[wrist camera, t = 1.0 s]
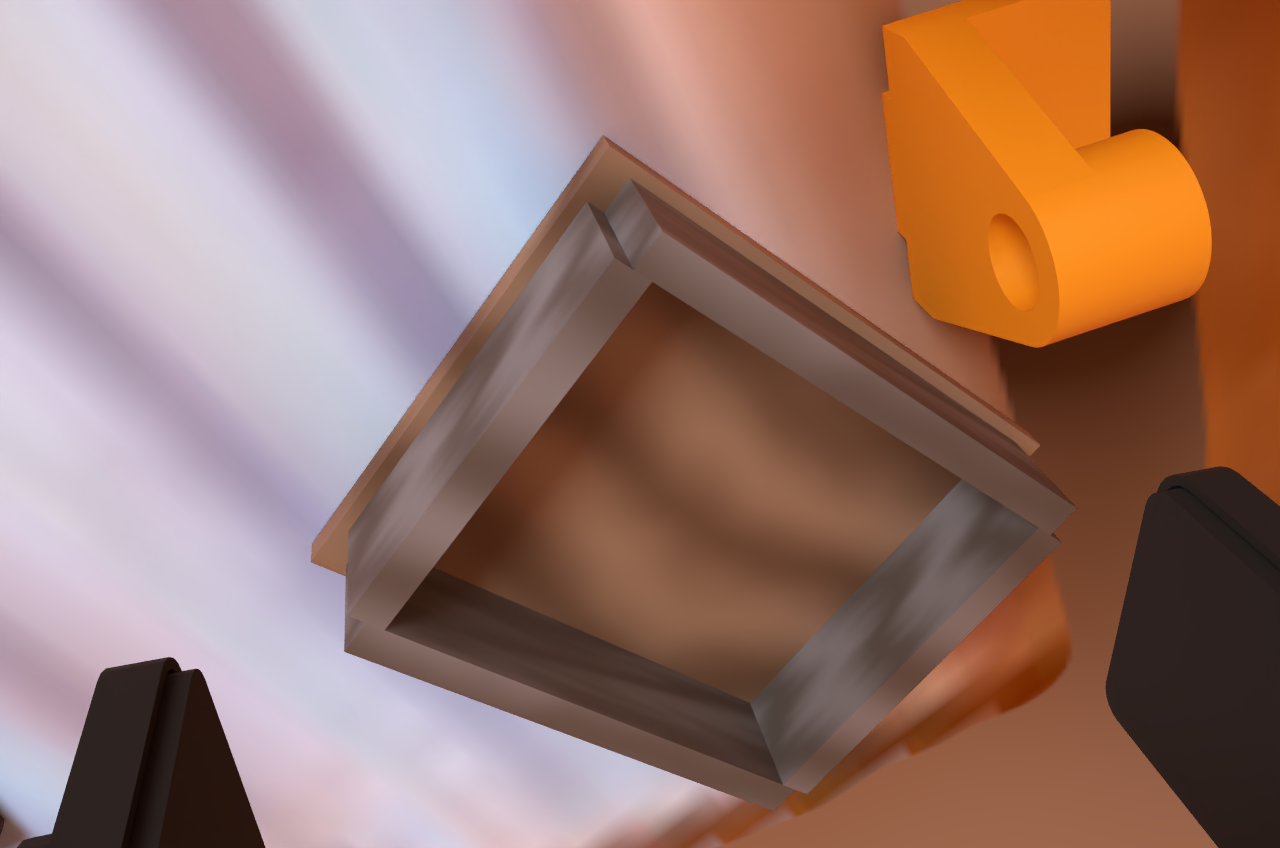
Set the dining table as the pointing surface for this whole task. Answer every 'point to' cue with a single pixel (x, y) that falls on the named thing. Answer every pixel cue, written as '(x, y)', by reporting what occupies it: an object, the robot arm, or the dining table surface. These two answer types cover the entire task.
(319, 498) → the dining table surface
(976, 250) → the bracket
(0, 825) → the hardcover book
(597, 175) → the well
